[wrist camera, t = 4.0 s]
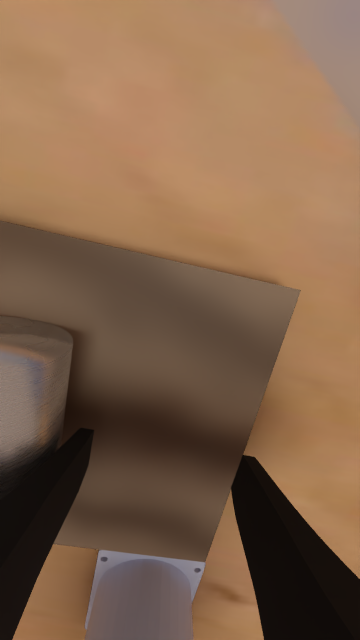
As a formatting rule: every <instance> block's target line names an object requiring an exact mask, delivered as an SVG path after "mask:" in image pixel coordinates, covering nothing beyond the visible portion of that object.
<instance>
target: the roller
mask: <svg viewBox="0 0 360 640" xmlns="http://www.w3.org/2000/svg"><path fill="white" fill-rule="evenodd" d="M72 348H73V338H72V336H71V335H70V333H68V332H67V331H66V330H64V329H62V328H60V327H58V326H56V325H53V324H50V323H46V322H42V321H38V320H33V319H26V318H18V317H7V316H0V498H2V497H3V496H4V495H6V494H7V493H8V492H9V491H11V490H12V489H13V488H14V487H16V486H17V485H18V484H19V483H20V482H22V481H23V480H24V479H25V478H26V477H28V476H29V475H30V474H31V473H32V472H34V471H35V470H36V469H37V468H38V467H39V466H40V465H42V464H43V463H44V462H45V461H46V460H47V459H48V458H49V457H50V456H51V455H53V454H54V453H55V452H56V451H57V450H58V449H59V448H60V447H61V441H62V432H63V424H64V415H65V407H66V398H67V390H68V381H69V373H70V365H71V356H72Z"/></svg>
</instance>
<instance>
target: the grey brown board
mask: <svg viewBox="0 0 360 640" xmlns="http://www.w3.org/2000/svg"><path fill="white" fill-rule="evenodd" d="M300 291H301V290H298V289H293V288H289V287H285V286H280V285H276V284H272V283H267V282H263V281H259V280H254V279H250V278H246V277H241V276H237V275H233V274H228V273H224V272H220V271H215V270H211V269H207V268H202V267H198V266H194V265H190V264H185V263H181V262H177V261H172V260H168V259H164V258H159V257H155V256H151V255H146V254H142V253H138V252H133V251H129V250H125V249H120V248H116V247H112V246H107V245H103V244H99V243H94V242H90V241H86V240H81V239H77V238H73V237H68V236H64V235H60V234H55V233H51V232H47V231H43V230H38V229H34V228H30V227H25V226H21V225H17V224H12V223H8V222H4V221H0V316H7V317H18V318H26V319H33V320H38V321H42V322H46V323H50V324H53V325H56V326H58V327H60V328H62V329H64V330H66V331H67V332H68V333H70V335H71V336H72V338H73V348H72V356H71V365H70V373H69V381H68V390H67V398H66V407H65V415H64V424H63V432H62V441H61V446H62V445H63V444H64V443H65V442H66V441H67V440H68V439H69V438H70V437H71V436H72V435H73V434H74V433H75V432H76V431H77V430H78V429H79V428H86V429H92V430H94V435H93V441H92V447H91V453H90V460H89V466H88V468H87V471H86V474H85V476H84V479H83V481H82V484H81V487H80V489H79V492H78V494H77V496H76V498H75V500H74V502H73V504H72V506H71V508H70V510H69V513H68V515H67V517H66V519H65V521H64V523H63V525H62V527H61V529H60V531H59V533H58V535H57V537H56V539H55V541H54V543H53V544H57V545H66V546H74V547H82V548H90V549H99V550H107V551H115V552H123V553H132V554H140V555H148V556H156V557H165V558H173V559H181V560H189V561H198V562H205V561H206V558H207V555H208V552H209V550H210V547H211V544H212V541H213V538H214V535H215V532H216V530H217V527H218V524H219V521H220V518H221V515H222V513H223V510H224V507H225V504H226V501H227V498H228V496H229V493H230V490H231V486H232V483H233V480H234V478H235V475H236V472H237V469H238V466H239V464H240V461H241V458H242V455H243V453H244V450H245V447H246V444H247V441H248V439H249V436H250V433H251V430H252V427H253V424H254V422H255V419H256V416H257V413H258V410H259V407H260V405H261V402H262V399H263V396H264V393H265V390H266V387H267V385H268V382H269V379H270V376H271V373H272V370H273V368H274V365H275V362H276V359H277V356H278V353H279V351H280V348H281V345H282V342H283V339H284V336H285V333H286V331H287V328H288V325H289V322H290V319H291V316H292V314H293V311H294V308H295V305H296V302H297V299H298V297H299V294H300Z"/></svg>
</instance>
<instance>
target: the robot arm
mask: <svg viewBox="0 0 360 640" xmlns="http://www.w3.org/2000/svg"><path fill="white" fill-rule="evenodd" d="M93 435H94V430H92V429H86V428H79V429H78V430H77V431H76V432H75V433H74V434H73V435H72V436H71V437H70V438H69V439H68V440H67V441H66V442H65V443H64V444H63V445H62V446H61V447H60V448H59V449H58V450H57V451H56V452H55V453H54V454H53V455H51V456H50V457H49V458H48V459H47V460H46V461H45V462H44V463H43V464H42V465H40V466H39V467H38V468H37V469H36V470H35V471H34V472H32V473H31V474H30V475H29V476H28V477H26V478H25V479H24V480H23V481H22V482H20V483H19V484H18V485H17V486H16V487H14V488H13V489H12V490H11V491H9V492H8V493H7V494H6V495H4V496H3V497H2V498H0V640H12V639H13V636H14V634H15V631H16V629H17V626H18V624H19V621H20V619H21V616H22V614H23V612H24V609H25V607H26V604H27V602H28V599H29V597H30V595H31V592H32V590H33V587H34V585H35V582H36V580H37V578H38V575H39V573H40V571H41V569H42V567H43V564H44V562H45V560H46V558H47V556H48V554H49V552H50V550H51V548H52V545H53V543H54V541H55V539H56V537H57V535H58V533H59V531H60V529H61V527H62V525H63V523H64V521H65V519H66V517H67V515H68V513H69V510H70V508H71V506H72V504H73V502H74V500H75V498H76V496H77V494H78V492H79V489H80V487H81V484H82V481H83V479H84V476H85V474H86V471H87V468H88V466H89V460H90V453H91V447H92V441H93ZM231 491H232V498H233V505H234V511H235V516H236V520H237V524H238V528H239V532H240V536H241V540H242V544H243V548H244V552H245V555H246V559H247V563H248V567H249V571H250V575H251V579H252V582H253V586H254V591H255V595H256V600H257V604H258V610H259V615H260V620H261V625H262V631H263V636H264V640H360V579H359V578H358V577H357V576H356V575H355V574H354V573H353V572H352V571H351V570H350V569H349V568H348V567H347V566H346V565H345V564H344V563H343V562H342V561H341V560H340V558H339V557H338V556H337V555H336V554H335V553H334V552H333V551H332V550H331V549H330V548H329V547H328V546H327V545H326V544H325V542H324V541H323V540H322V539H321V538H320V537H319V536H318V535H317V534H316V532H315V531H314V530H313V529H312V528H311V527H310V525H309V524H308V523H307V522H306V521H305V520H304V518H303V517H302V516H301V515H300V514H299V512H298V511H297V510H296V509H295V508H294V506H293V505H292V504H291V503H290V501H289V500H288V499H287V498H286V496H285V495H284V494H283V493H282V491H281V490H280V489H279V488H278V486H277V485H276V484H275V482H274V481H273V480H272V479H271V477H270V476H269V475H268V473H267V472H266V471H265V469H264V468H263V467H262V466H261V464H260V463H259V462H258V461H257V459H256V458H255V457H252V456H246V455H242V458H241V461H240V464H239V466H238V469H237V472H236V475H235V478H234V480H233V483H232V486H231ZM204 568H205V562H198V561H189V560H181V559H173V558H165V557H156V556H148V555H140V554H132V553H123V552H115V551H107V550H99V552H98V557H97V563H96V568H95V573H94V579H93V584H92V589H91V595H90V600H89V606H88V611H87V616H86V622H85V629H86V630H87V632H86V636H85V640H193V621H192V602H193V599H194V596H195V594H196V591H197V588H198V585H199V582H200V579H201V577H202V574H203V571H204Z"/></svg>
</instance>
